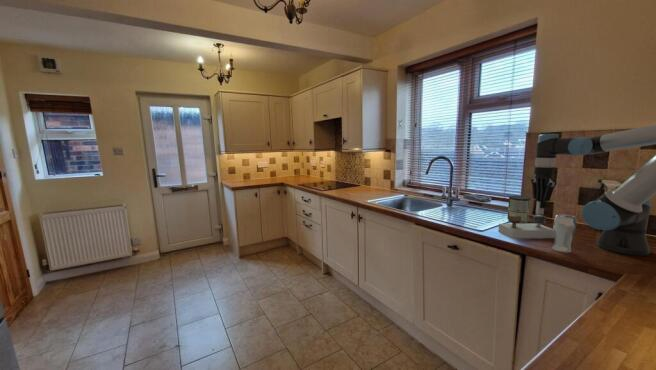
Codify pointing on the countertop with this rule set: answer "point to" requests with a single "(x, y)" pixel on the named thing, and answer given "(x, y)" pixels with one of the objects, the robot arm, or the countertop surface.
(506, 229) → the knob mount
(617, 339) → the countertop surface
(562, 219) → the beer glass
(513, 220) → the knob walnut
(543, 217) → the knob black
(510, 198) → the coffee can
